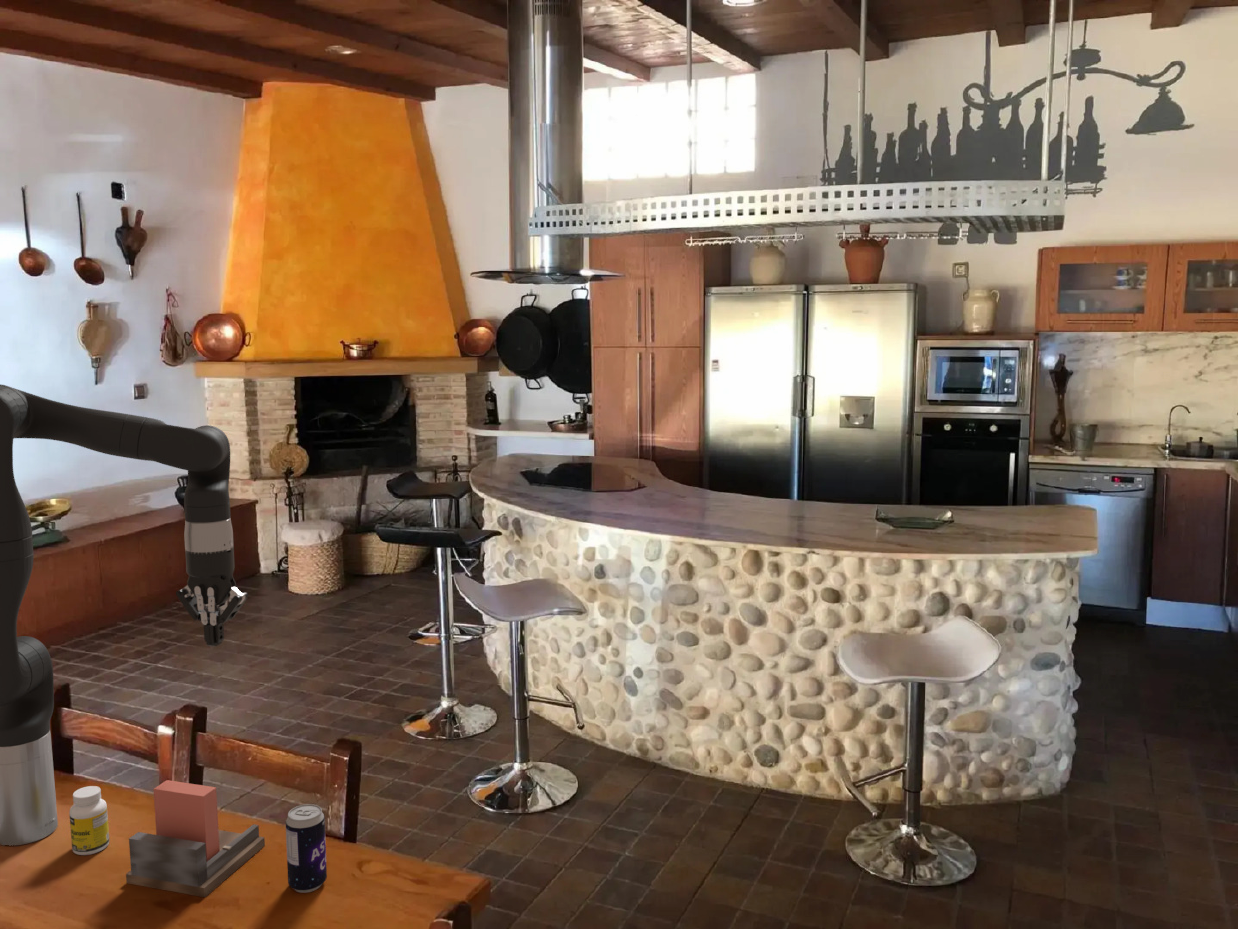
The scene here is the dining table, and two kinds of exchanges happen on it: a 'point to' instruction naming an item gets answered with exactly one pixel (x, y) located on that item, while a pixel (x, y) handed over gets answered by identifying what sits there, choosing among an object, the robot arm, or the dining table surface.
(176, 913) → the dining table surface
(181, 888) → the holder
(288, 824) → the beverage can
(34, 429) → the robot arm
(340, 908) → the dining table surface
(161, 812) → the pink upright block
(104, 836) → the supplement bottle
